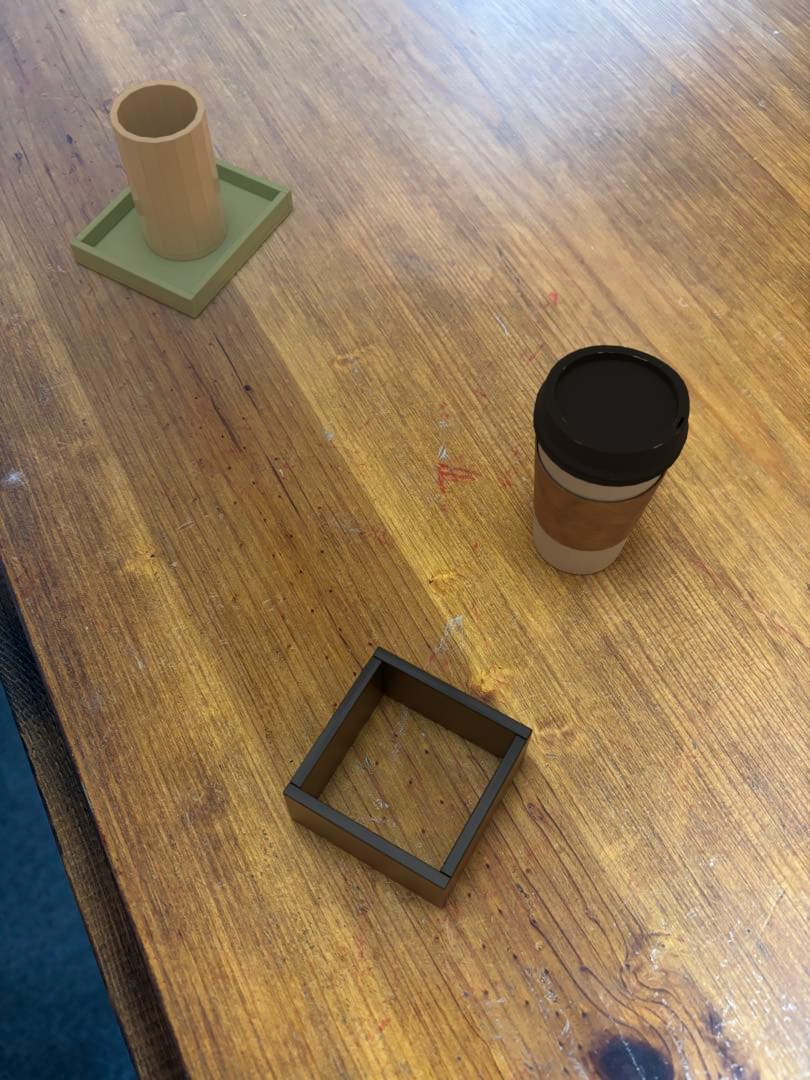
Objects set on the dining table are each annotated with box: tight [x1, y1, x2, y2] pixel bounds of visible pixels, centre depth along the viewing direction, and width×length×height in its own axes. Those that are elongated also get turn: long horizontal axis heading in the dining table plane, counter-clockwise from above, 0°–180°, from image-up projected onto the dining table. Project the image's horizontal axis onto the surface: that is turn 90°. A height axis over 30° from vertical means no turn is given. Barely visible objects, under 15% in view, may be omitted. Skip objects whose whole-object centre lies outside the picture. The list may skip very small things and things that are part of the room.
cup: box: [109, 79, 227, 261], centre depth 77 cm, size 6×6×11 cm
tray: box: [69, 156, 294, 319], centre depth 82 cm, size 13×11×2 cm
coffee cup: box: [531, 344, 691, 576], centre depth 63 cm, size 8×8×15 cm
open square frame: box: [282, 645, 534, 910], centre depth 59 cm, size 10×10×5 cm
